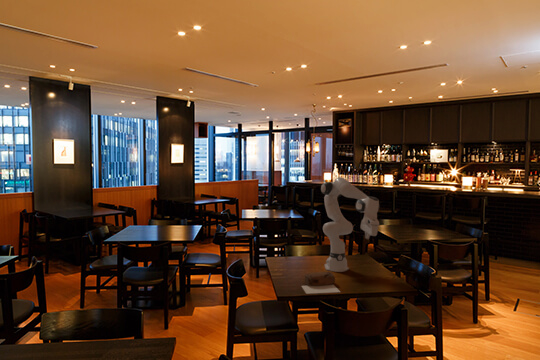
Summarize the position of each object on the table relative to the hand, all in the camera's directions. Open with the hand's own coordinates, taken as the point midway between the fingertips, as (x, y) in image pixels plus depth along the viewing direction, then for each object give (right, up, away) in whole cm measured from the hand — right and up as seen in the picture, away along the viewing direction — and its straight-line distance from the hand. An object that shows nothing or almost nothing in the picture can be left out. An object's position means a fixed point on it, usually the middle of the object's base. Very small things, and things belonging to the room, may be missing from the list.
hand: (366, 238), depth 246 cm
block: (-24, -28, +1) cm, 37 cm away
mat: (-35, -32, -12) cm, 49 cm away
